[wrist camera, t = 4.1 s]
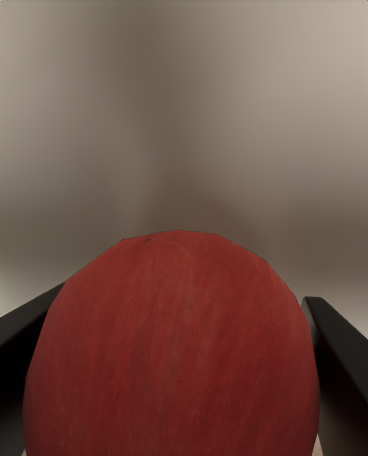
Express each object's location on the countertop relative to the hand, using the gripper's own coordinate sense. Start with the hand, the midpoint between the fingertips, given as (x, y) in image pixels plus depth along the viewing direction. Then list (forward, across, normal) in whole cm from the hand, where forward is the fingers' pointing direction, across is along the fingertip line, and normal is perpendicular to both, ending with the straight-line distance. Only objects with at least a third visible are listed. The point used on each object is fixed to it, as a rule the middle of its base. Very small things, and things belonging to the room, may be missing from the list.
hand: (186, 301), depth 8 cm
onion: (+2, 0, 0) cm, 2 cm away
